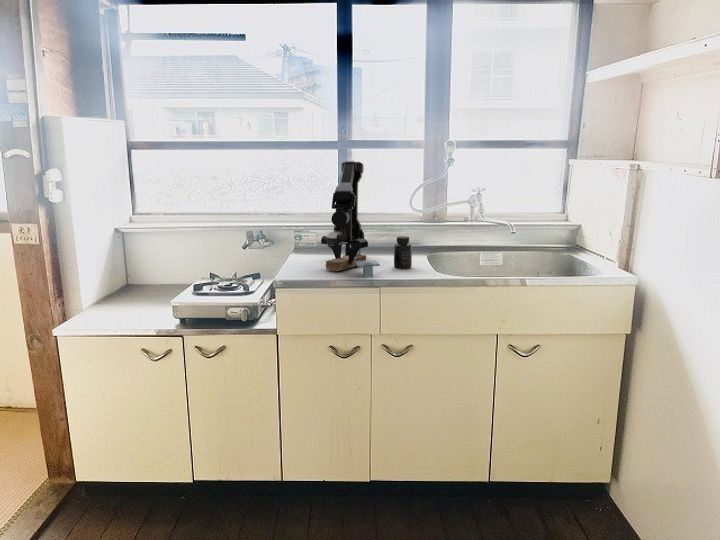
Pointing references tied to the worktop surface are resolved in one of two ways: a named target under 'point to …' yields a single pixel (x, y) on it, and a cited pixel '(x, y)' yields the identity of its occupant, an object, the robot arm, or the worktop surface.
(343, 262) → the link
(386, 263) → the worktop surface
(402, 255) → the supplement bottle
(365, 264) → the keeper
